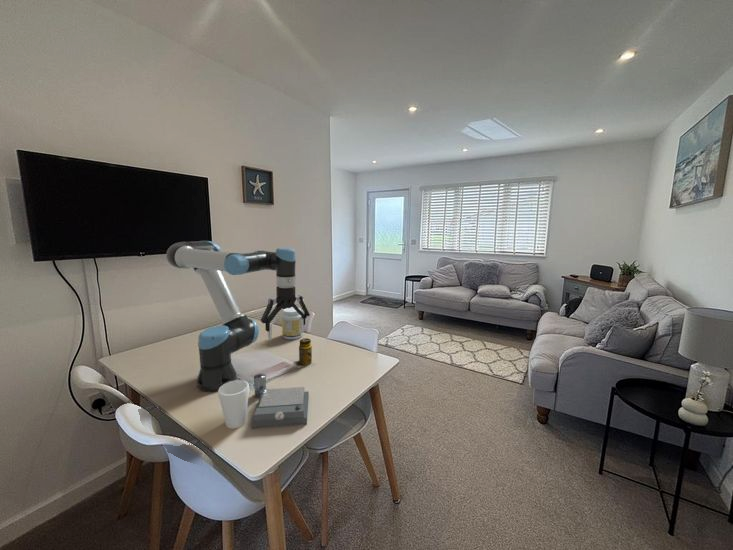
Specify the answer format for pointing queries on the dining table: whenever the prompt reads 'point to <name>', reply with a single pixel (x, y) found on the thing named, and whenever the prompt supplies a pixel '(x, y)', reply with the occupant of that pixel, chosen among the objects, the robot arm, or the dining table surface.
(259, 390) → the cylinder
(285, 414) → the scale base
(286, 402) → the scale weighing pan
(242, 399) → the foam cup
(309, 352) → the condiment
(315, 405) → the dining table surface
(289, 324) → the supplement tub
